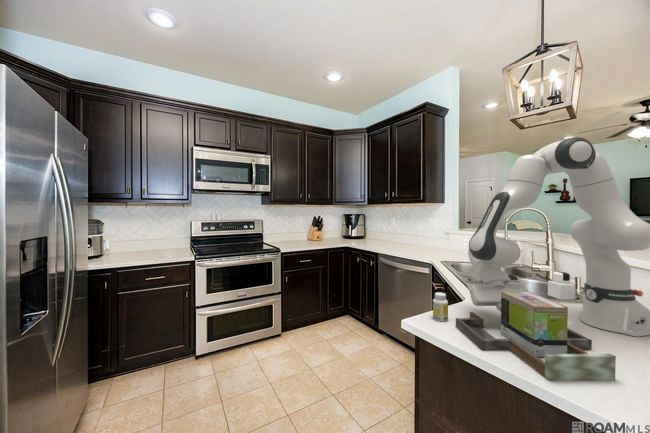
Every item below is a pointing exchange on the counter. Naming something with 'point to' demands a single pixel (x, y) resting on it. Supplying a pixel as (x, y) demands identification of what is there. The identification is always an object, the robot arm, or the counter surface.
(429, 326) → the counter surface
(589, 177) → the robot arm
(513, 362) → the counter surface
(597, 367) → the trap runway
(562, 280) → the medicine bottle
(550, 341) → the tea box
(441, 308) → the supplement bottle
